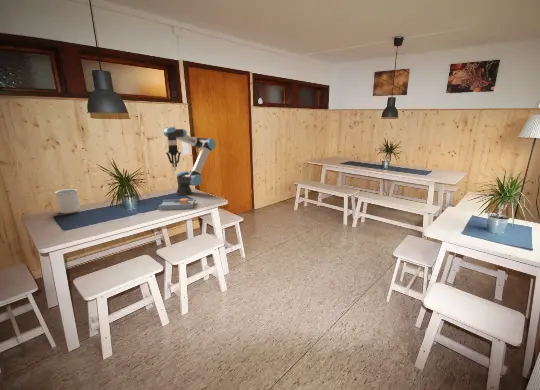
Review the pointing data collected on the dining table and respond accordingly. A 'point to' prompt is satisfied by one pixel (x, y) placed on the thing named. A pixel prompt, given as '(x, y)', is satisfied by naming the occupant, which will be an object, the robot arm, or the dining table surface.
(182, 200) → the block
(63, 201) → the utensil holder
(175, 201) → the trap tray
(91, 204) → the dining table surface
